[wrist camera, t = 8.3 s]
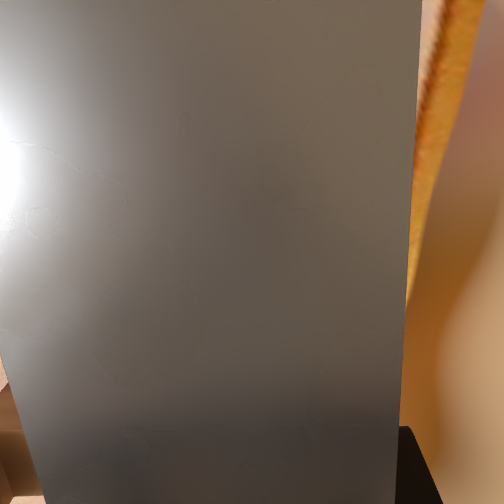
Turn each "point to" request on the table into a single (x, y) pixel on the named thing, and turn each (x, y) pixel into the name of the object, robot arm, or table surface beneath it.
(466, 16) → the table surface
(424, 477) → the robot arm
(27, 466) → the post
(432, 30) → the table surface
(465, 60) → the table surface
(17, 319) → the rail
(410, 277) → the table surface
